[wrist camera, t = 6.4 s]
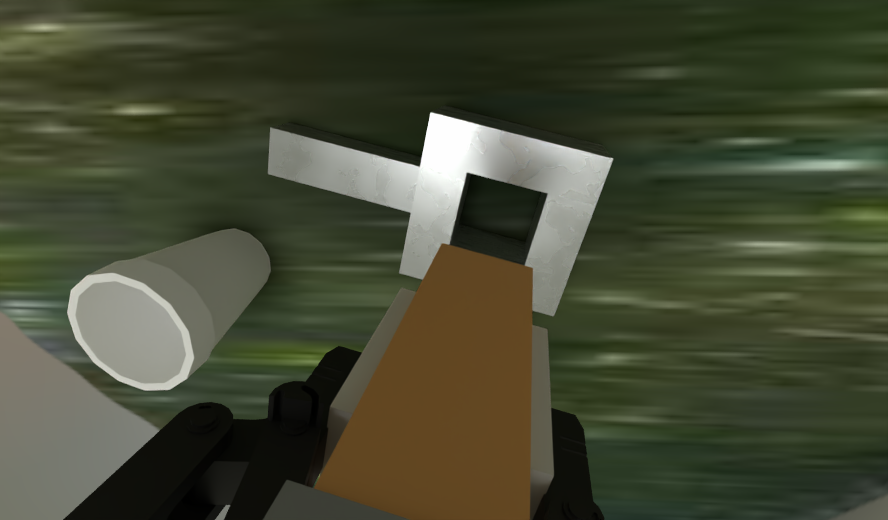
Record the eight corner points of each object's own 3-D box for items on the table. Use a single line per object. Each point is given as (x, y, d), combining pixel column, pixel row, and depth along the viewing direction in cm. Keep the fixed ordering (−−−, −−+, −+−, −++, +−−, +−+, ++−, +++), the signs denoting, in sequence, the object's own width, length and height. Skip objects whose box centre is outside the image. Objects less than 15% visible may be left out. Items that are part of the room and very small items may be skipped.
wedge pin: (435, 232, 20) (247, 545, 7) (545, 261, 19) (564, 651, 7) (414, 324, 22) (238, 702, 9) (513, 353, 21) (480, 791, 9)
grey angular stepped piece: (293, 67, 35) (89, 75, 19) (602, 145, 34) (665, 227, 17) (277, 294, 44) (128, 431, 28) (522, 365, 42) (515, 556, 26)
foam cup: (292, 232, 41) (196, 301, 30) (280, 316, 45) (192, 407, 33) (194, 199, 42) (61, 254, 30) (191, 285, 46) (72, 364, 34)
